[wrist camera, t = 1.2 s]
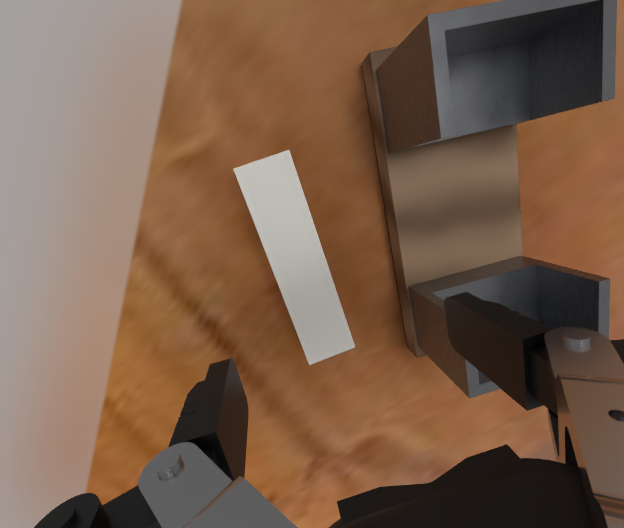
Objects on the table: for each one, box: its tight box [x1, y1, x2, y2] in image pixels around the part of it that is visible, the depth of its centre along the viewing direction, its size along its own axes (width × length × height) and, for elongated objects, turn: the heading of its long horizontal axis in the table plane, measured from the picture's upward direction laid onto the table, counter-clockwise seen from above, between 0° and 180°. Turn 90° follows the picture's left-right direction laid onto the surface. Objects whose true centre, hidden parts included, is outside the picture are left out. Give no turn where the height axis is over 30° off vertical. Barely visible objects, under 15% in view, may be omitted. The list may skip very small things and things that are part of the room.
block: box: [233, 150, 355, 365], centre depth 25 cm, size 16×4×4 cm, turn 19°
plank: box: [362, 47, 523, 357], centre depth 27 cm, size 25×11×2 cm, turn 13°
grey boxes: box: [376, 0, 617, 398], centre depth 22 cm, size 23×11×8 cm, turn 13°
